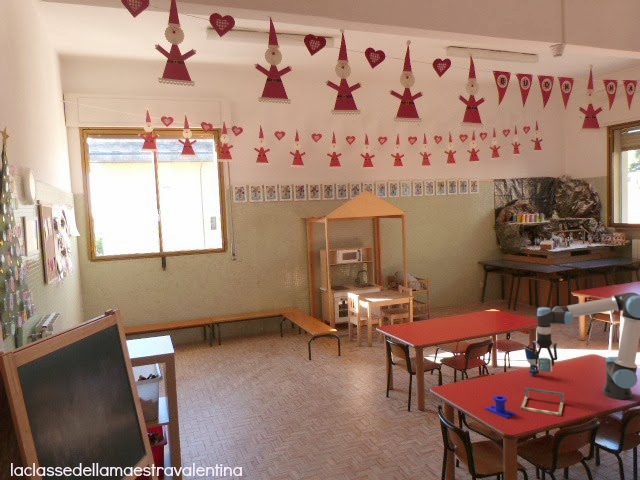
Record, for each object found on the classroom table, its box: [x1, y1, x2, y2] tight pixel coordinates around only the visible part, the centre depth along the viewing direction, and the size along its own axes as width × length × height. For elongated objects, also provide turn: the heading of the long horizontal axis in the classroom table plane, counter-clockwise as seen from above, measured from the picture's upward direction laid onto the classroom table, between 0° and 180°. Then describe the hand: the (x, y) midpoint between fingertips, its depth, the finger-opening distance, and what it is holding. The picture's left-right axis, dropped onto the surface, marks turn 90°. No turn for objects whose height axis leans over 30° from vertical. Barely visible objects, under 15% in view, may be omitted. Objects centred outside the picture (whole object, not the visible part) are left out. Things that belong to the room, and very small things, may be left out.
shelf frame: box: [520, 395, 565, 417], centre depth 279 cm, size 21×20×1 cm
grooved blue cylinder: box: [539, 357, 551, 373], centre depth 291 cm, size 6×6×7 cm
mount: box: [484, 394, 517, 419], centre depth 273 cm, size 15×8×9 cm, turn 31°
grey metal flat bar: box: [524, 387, 565, 404], centre depth 287 cm, size 21×2×6 cm, turn 59°
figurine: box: [524, 346, 540, 377], centre depth 329 cm, size 13×9×20 cm
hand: (544, 369), depth 291 cm, fingers closed on grooved blue cylinder, 6 cm apart
